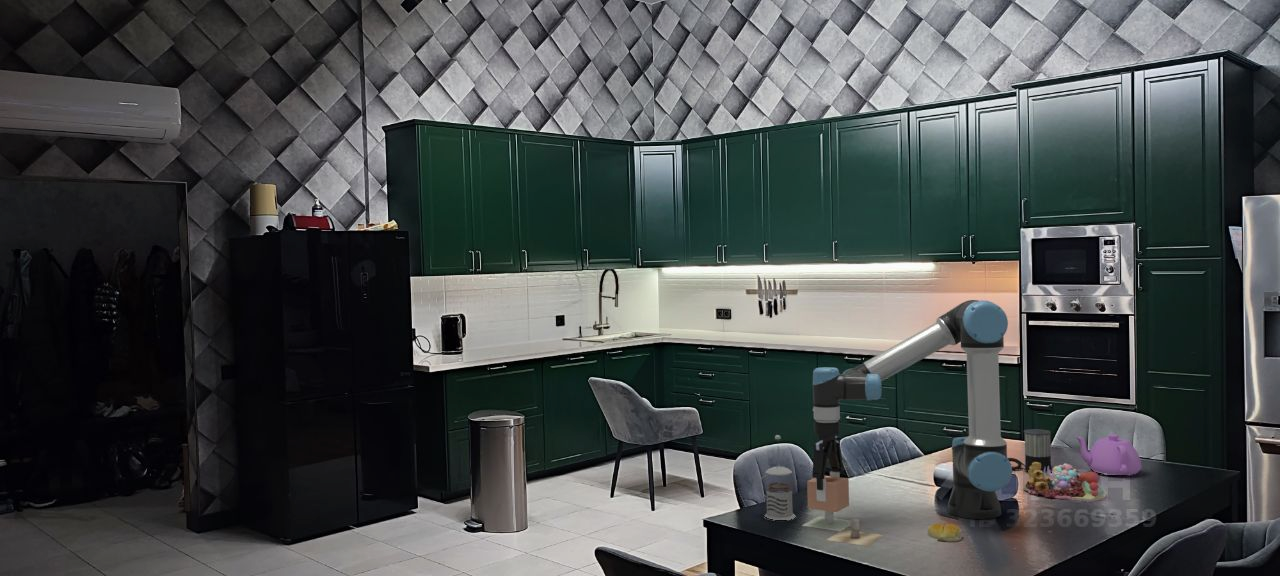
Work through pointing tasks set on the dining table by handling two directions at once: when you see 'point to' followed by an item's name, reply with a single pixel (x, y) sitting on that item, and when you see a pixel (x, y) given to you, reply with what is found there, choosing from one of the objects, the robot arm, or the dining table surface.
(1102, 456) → the teapot
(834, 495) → the collar
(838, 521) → the green base with peg
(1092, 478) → the plate of food
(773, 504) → the french press
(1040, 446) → the milk frother
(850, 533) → the stand
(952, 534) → the bread roll
